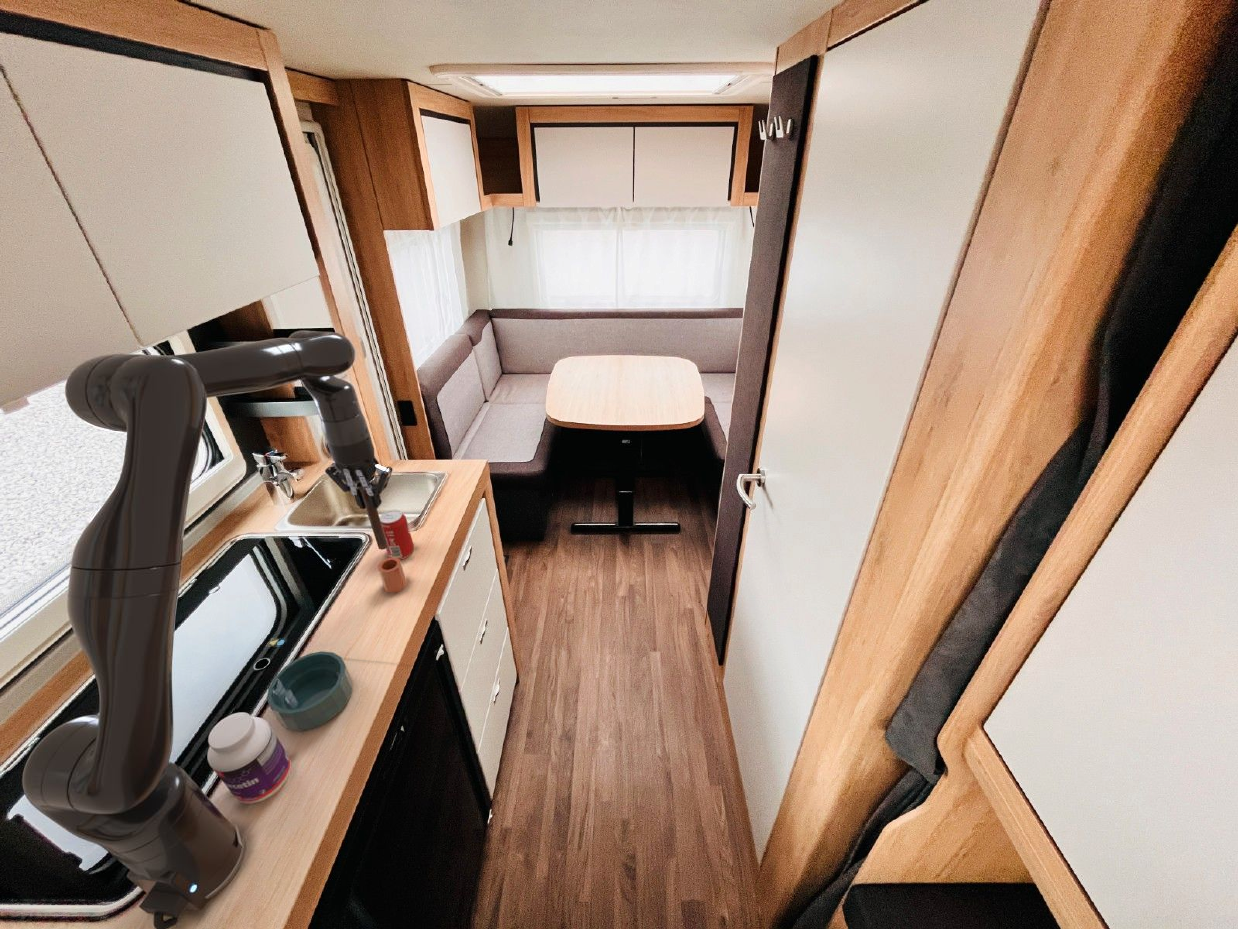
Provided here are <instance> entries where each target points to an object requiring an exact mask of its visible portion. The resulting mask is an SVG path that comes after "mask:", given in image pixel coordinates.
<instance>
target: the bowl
mask: <svg viewBox="0 0 1238 929" xmlns="http://www.w3.org/2000/svg"><path fill="white" fill-rule="evenodd" d="M353 683H354V682H353V679H352V676H351V674H350V672H349V670H348V667H347V666H346V663H345V661H344V660H343V658H342V656H340V655H338V654H337V653H335V652H332V651H316V652H310V653H308V654H305V655H303V656H301V657H298V658H296V659H294V660H293V661H291V662H289V663H288V664H287V665H286V666H284V667H283V668H282V669H281V670H280V671H279V672H278V673H277V674H276V675H275V676H274V678H273V679H272V681H271V682H270V685H269V687H268V689H267V694H266V701H267V703H268V705H269V708H270V710H271V711H272V713H273V714H274V716H275V717H276V719H277V720H278V722H279V724H280V725H281V726H283V727H284V728H286V729H287V730H290V731H291V730H292V731H298V732H299V731H300V732H301V731H307V730H311V729H315V728H317V727H319V726H321V725H323V724H325V723H327V722H329V721H330V720H331V719H333V718H334V717H335V716H337V714H339V713H340V712H341V711H342V710H343V708H344V707H345V706H346V705H347V704H348V703H349V700H350V698H351V695H352V692H353V686H354V684H353Z"/></svg>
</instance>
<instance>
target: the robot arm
mask: <svg viewBox="0 0 1238 929" xmlns="http://www.w3.org/2000/svg"><path fill="white" fill-rule="evenodd" d="M355 361H356V349H355V346H354V344H353V343H352V342H351V340H350V339H349V338H348V337H347V336H345V335H343V334H341V333H339V332H333V331H318V330H317V331H316V330H298V331H294V332H293V333H291V334H290V335H289V336H288V337H277V338H270V339H269V338H268V339H264V340H258V341H253V342H247V343H242V344H238V345H233V346H232V345H231V346H227V347H222V348H217V349H211V350H205V351H198V352H189V353H182V354H171V355H161V354H138V353H137V354H136V353H134V354H133V353H112V354H111V353H110V354H103V355H99V356H95V357H92V358H90V359H87V360H85V361H83V362H82V363H80V364H78V365H77V366H76V367H75V368H74V369H73V370H72V371H71V372H70V373H69V375H68V377H67V379H66V382H65V386H64V395H65V399H66V403H67V405H68V407H69V408H70V410H71V411H72V412H73V413H74V414H75V416H77V418H79V419H80V420H82V421H83V422H84V423H86V424H88V425H90V426H92V427H95V428H98V429H100V430H104V431H108V432H109V431H110V432H115V433H121V434H123V433H124V434H126V437H125V447H124V448H125V449H124V456H123V463H122V468H121V472H120V474H119V476H118V480H117V482H116V484H115V486H114V487H113V489H112V491H111V493H109V495H108V497H107V498H106V500H105V501H104V502H103V504H102V505H101V506H100V508H99V509H98V510H97V512H96V513H95V514H94V515H93V517H91V520H90V521H89V522H88V524H87V525H86V527H85V528H84V529H83V531H82V532H81V534H80V536H79V537H78V539H77V541H76V543H75V546H74V549H73V552H72V555H71V562H70V569H69V570H70V571H69V577H68V587H67V598H66V600H67V602H66V603H67V604H66V608H67V609H66V610H67V615H68V620H69V623H70V626H71V628H72V631H73V633H74V635H75V638H76V640H77V641H78V643H79V646H80V648H81V650H82V651H83V652H82V653H83V654H84V656H85V657H86V659H87V662H88V663H89V666H90V668H91V670H92V672H93V674H94V678H95V680H96V684H97V687H98V688H97V689H98V695H99V710H98V714H88V715H83V716H79V717H76V718H73V719H70V720H68V721H66V722H65V723H62V724H61V725H59V726H57V727H56V728H55V729H53V730H51V731H50V732H49V733H48V734H47V735H46V736H44V737H43V738H42V739H41V741H39V743H38V744H36V746H35V747H34V749H32V751H31V753H30V754H29V756H28V758H27V760H26V763H25V765H24V768H23V772H22V779H21V783H22V784H21V785H22V790H23V793H24V795H25V797H26V799H27V800H28V802H29V803H30V804H31V806H33V807H34V808H35V809H36V810H37V811H39V812H40V813H41V814H43V815H44V816H45V817H46V818H48V819H50V820H51V821H52V822H54V823H55V824H57V825H59V826H60V828H63V829H64V830H65V831H67V832H69V833H70V834H72V835H73V836H75V837H77V838H79V839H81V840H84V841H86V842H89V843H91V844H92V843H93V844H94V845H95V844H96V845H98V846H99V847H101V848H102V849H103V850H104V851H106V852H107V853H109V854H110V855H111V856H112V857H114V858H115V859H116V860H117V861H119V862H120V863H121V864H122V865H123V866H125V867H126V868H127V869H129V871H128V872H127V874H126V878H127V879H128V880H130V882H132V883H133V884H134V885H136V886H137V887H139V888H140V889H141V890H142V891H144V892H145V893H146V896H145V897H144V899H143V900H142V902H141V903H140V904H139V906H138V908H139V909H141V910H142V911H144V912H145V913H146V914H148V915H149V914H150V915H153V926H154V929H169V928H171V927H174V926H175V925H176V924H177V923H178V921H179V918H180V917H181V916H182V914H183V912H184V911H185V909H188V910H195V911H202V910H203V909H204V908H205V906H206V904H207V903H208V902H209V901H210V900H211V899H212V898H214V897H215V896H217V895H218V894H219V893H220V892H222V890H223V889H224V888H225V887H227V885H228V884H229V883H231V881H232V880H233V878H234V877H235V875H236V874H237V873H238V871H239V869H240V867H241V866H242V864H243V861H244V859H245V855H246V849H247V847H246V846H247V844H246V839H245V837H244V835H243V834H242V833H241V832H240V829H239V826H238V825H237V824H236V823H234V825H233V824H232V823H231V822H230V821H229V819H227V818H226V816H225V815H224V814H223V813H222V812H221V811H220V810H219V809H218V807H217V806H216V805H215V804H214V803H213V802H212V800H211V799H210V798H209V797H208V796H207V794H205V793H204V791H203V790H202V789H201V787H200V786H198V784H197V783H196V782H195V781H194V780H193V779H192V778H191V776H190V775H189V774H188V773H187V772H186V771H185V769H183V768H182V767H181V766H180V765H179V764H176V763H174V762H172V761H170V760H171V755H172V752H173V745H174V744H173V743H174V704H173V703H174V702H173V701H174V700H173V698H174V697H173V659H174V658H173V655H174V640H175V626H176V625H175V624H176V614H177V606H178V599H179V592H180V585H181V576H182V566H183V551H184V549H183V548H184V536H185V535H184V534H185V527H186V520H187V511H188V504H189V497H190V491H191V490H190V489H191V483H192V477H193V472H194V468H195V465H196V464H195V463H196V460H197V455H198V451H199V447H200V442H201V438H202V434H203V429H204V425H205V421H206V420H205V419H206V415H207V408H208V399H210V398H216V397H222V396H231V395H237V394H238V395H239V394H245V393H246V394H247V393H253V392H260V391H266V390H271V389H274V388H278V387H281V386H282V387H283V386H286V385H289V384H293V383H295V382H298V381H300V382H301V384H302V385H303V387H304V388H305V389H306V391H307V392H308V393H309V395H310V396H311V397H312V399H313V402H314V405H315V408H316V411H317V414H318V416H319V420H320V425H321V429H322V433H323V436H324V439H325V441H326V444H327V447H328V450H329V452H330V456H331V459H332V460H333V461H334V462H332V463H331V464H330V465H329V466H328V467H326V469H325V470H324V472H325V474H326V475H327V476H328V477H329V478H330V479H331V480H332V481H333V482H334V483H335V484H336V485H337V486H338V487H339V488H340V490H342V491H343V492H344V493H348V492H350V493H351V494H352V495H353V497H354V499H355V502H356V505H357V506H358V507H359V510H360V509H361V510H366V508H365V505H364V502H363V499H362V496H361V493H360V490H359V488H360V487H361V486H363V487H365V489H366V491H367V494H368V499H369V502H370V505H371V508H372V510H377V511H378V509H379V508H380V506H381V505H382V502H383V501H382V498H381V494H382V492H384V490H385V489H386V488H387V487H388V484H389V481H390V478H391V476H392V473H393V467H392V466H387V467H384V466H383V465H380V463H379V461H378V459H377V458H376V457H375V456H376V455H375V448H374V443H373V441H372V438H371V434H370V430H369V426H368V424H367V423H368V422H367V420H366V417H365V415H364V414H363V411H362V409H361V405H360V402H359V398H358V395H357V392H356V388H355V386H354V385H353V384H352V383H351V382H349V381H347V380H345V379H342V378H339V377H337V376H338V375H341V374H343V373H345V372H347V371H349V370H350V369H351V367H352V366H353V364H355V363H354V362H355ZM377 480H378V481H377ZM164 917H169V918H168V919H166V920H165V918H164Z"/></svg>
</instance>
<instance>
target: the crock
mask: <svg viewBox="0 0 1238 929" xmlns="http://www.w3.org/2000/svg"><path fill="white" fill-rule="evenodd" d="M377 571H378V573H379V576H380V580H381V582H382V585H383V588H384V591H385V592H386V593H389V594H395V593H399V592H401V591H403V590H404V589H405V588H406V587H407V585H408V582H407V577H406V574H405V571H404V568H403V564H402V561H401V559H398V558H393V557H392V558H390V557H388V558H385V559H383V560H382V561H380V562H379V563H378V565H377Z"/></svg>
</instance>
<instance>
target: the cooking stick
mask: <svg viewBox="0 0 1238 929" xmlns="http://www.w3.org/2000/svg"><path fill="white" fill-rule="evenodd" d="M359 490H360V493H361V496H362V499H363V502H364V505H365V511H366V514H367V517H368V520H369V523H370V527H371V529H372V533H373V536H374V538H375V541H376V545H377V547H378V549H379V550H380V551H381V550H386V548H387V547H388V543H387V540H386V536H385V533H384V530H383V527H382V524H381V521H380V515H379V511H378V509H377V510H372V508H371V505H370V502H369V499H368V494H367V491H366V489H365V487H363V486H361V487H360V488H359Z"/></svg>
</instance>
